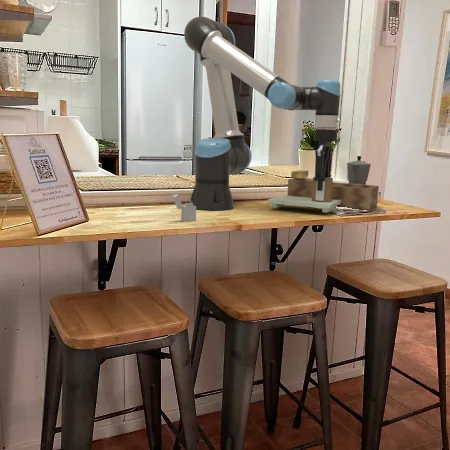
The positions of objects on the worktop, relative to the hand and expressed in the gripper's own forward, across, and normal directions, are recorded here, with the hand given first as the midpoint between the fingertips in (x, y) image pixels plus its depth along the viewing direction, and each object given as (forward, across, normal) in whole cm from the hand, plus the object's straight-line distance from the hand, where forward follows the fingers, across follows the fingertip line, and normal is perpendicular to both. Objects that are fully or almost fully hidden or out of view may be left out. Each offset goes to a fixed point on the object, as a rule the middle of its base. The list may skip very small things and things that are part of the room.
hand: (321, 199), depth 171 cm
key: (-5, +18, +14) cm, 23 cm away
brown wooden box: (+4, +18, +2) cm, 19 cm away
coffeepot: (+5, +37, -4) cm, 37 cm away
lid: (+3, 0, +6) cm, 7 cm away
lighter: (+5, -41, +29) cm, 50 cm away
